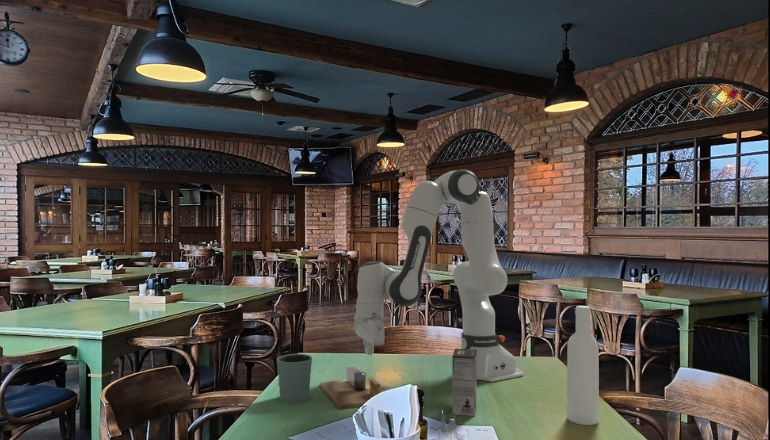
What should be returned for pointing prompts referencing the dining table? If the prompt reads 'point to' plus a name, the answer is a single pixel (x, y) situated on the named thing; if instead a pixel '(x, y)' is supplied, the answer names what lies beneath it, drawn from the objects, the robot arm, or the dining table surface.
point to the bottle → (583, 372)
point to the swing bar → (356, 378)
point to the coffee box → (464, 382)
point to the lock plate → (353, 392)
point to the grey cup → (294, 377)
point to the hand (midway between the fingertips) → (368, 353)
